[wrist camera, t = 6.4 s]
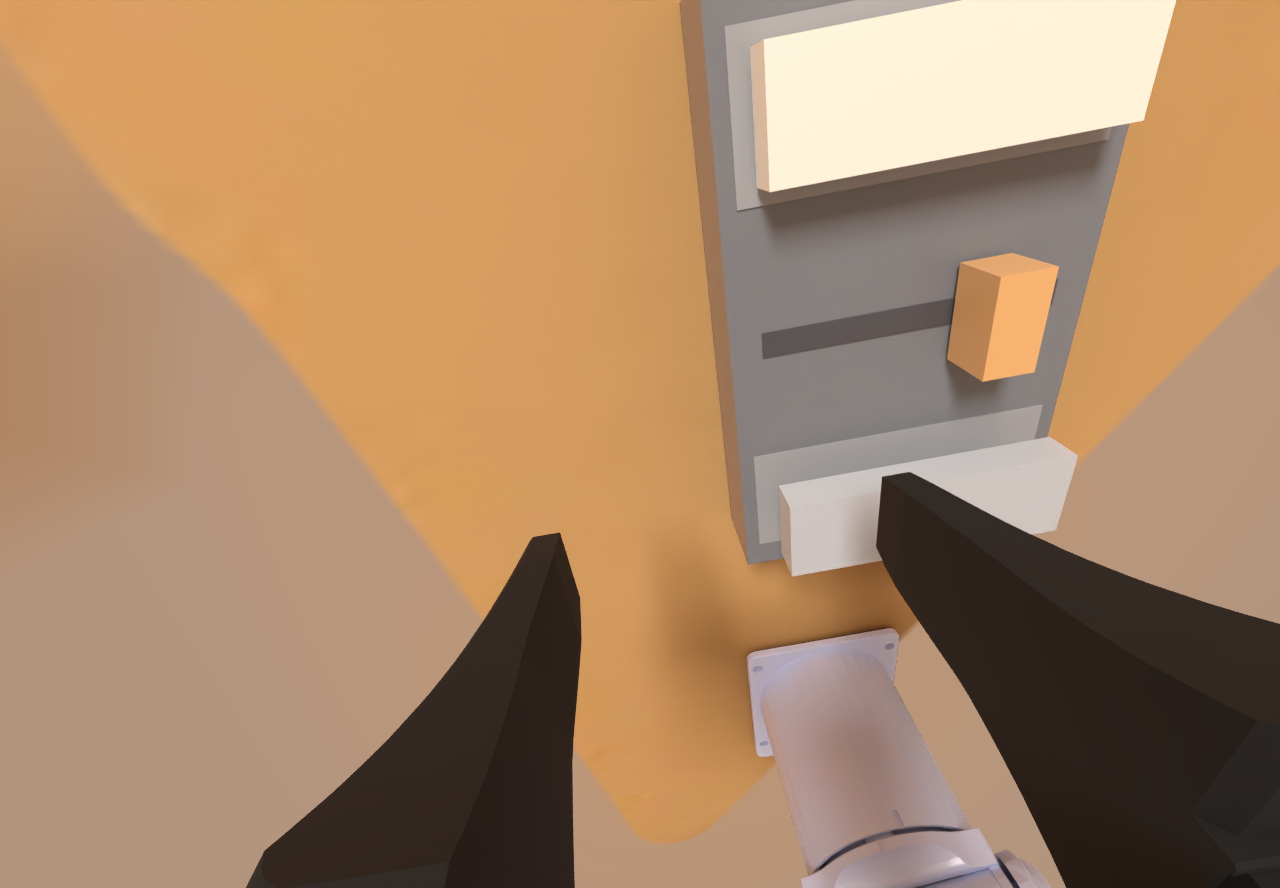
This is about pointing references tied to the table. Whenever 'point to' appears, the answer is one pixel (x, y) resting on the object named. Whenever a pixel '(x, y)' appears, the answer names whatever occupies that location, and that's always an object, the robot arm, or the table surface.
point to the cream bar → (948, 83)
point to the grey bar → (987, 478)
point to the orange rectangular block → (1000, 315)
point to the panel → (867, 279)
